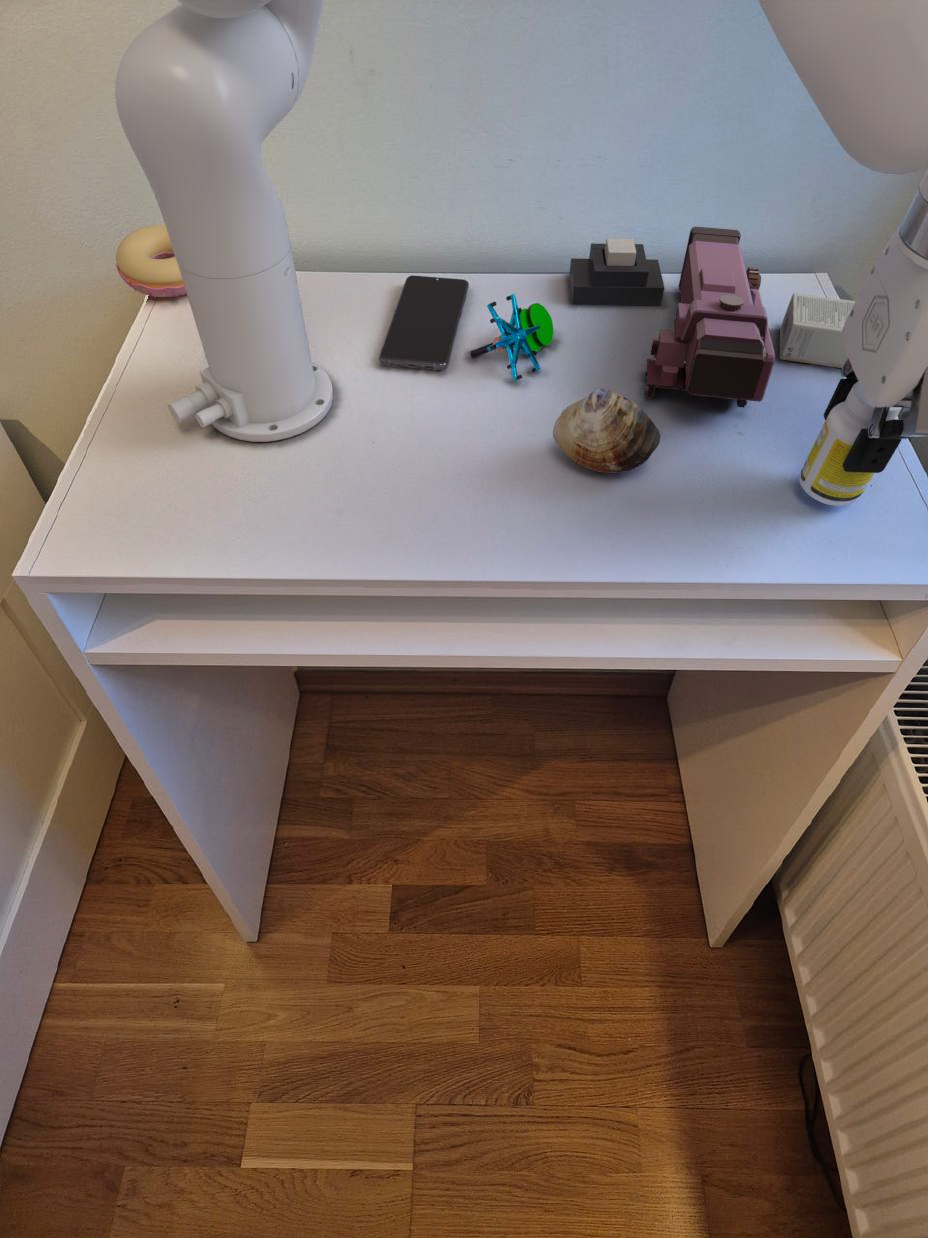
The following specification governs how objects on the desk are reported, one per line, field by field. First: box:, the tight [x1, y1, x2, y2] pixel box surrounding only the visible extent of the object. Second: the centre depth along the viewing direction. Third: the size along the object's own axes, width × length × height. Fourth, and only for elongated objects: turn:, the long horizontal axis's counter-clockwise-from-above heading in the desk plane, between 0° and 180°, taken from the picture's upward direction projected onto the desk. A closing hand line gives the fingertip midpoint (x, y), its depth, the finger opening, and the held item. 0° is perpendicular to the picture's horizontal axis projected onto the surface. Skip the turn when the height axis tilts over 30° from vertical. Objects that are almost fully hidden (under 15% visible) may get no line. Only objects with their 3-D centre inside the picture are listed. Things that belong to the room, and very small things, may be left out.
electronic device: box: [644, 226, 776, 409], centre depth 79 cm, size 11×27×10 cm, turn 171°
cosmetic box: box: [779, 292, 856, 369], centre depth 82 cm, size 6×4×12 cm
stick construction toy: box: [469, 293, 554, 382], centre depth 82 cm, size 12×7×8 cm
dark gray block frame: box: [568, 242, 665, 307], centre depth 89 cm, size 10×6×4 cm, turn 89°
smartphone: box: [378, 274, 470, 371], centre depth 86 cm, size 7×1×16 cm
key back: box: [604, 237, 636, 266], centre depth 87 cm, size 3×3×2 cm
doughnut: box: [115, 224, 187, 299], centre depth 91 cm, size 11×11×4 cm
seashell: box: [552, 388, 662, 474], centre depth 70 cm, size 10×6×8 cm, turn 70°
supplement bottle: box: [799, 382, 903, 507], centre depth 66 cm, size 5×5×10 cm
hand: (852, 442), depth 66 cm, fingers closed on supplement bottle, 5 cm apart
